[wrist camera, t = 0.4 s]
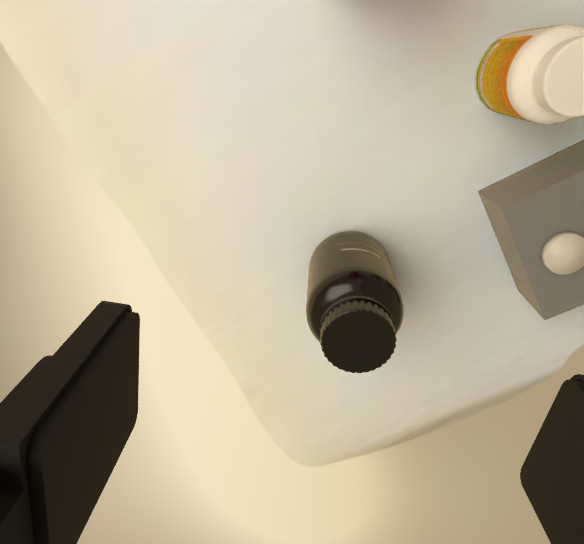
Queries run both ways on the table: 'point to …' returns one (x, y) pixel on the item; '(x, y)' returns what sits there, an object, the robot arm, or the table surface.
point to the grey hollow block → (543, 229)
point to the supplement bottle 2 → (534, 74)
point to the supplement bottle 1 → (353, 302)
